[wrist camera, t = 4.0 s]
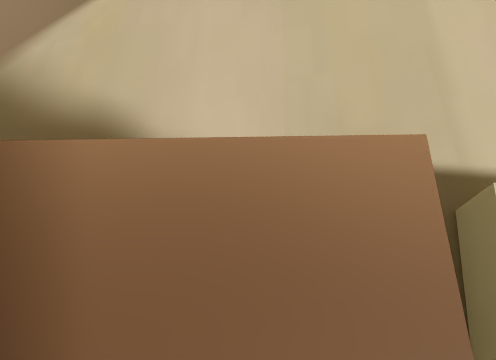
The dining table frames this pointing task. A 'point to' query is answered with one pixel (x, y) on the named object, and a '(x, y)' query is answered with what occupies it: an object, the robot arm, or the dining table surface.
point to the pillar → (226, 250)
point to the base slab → (479, 269)
